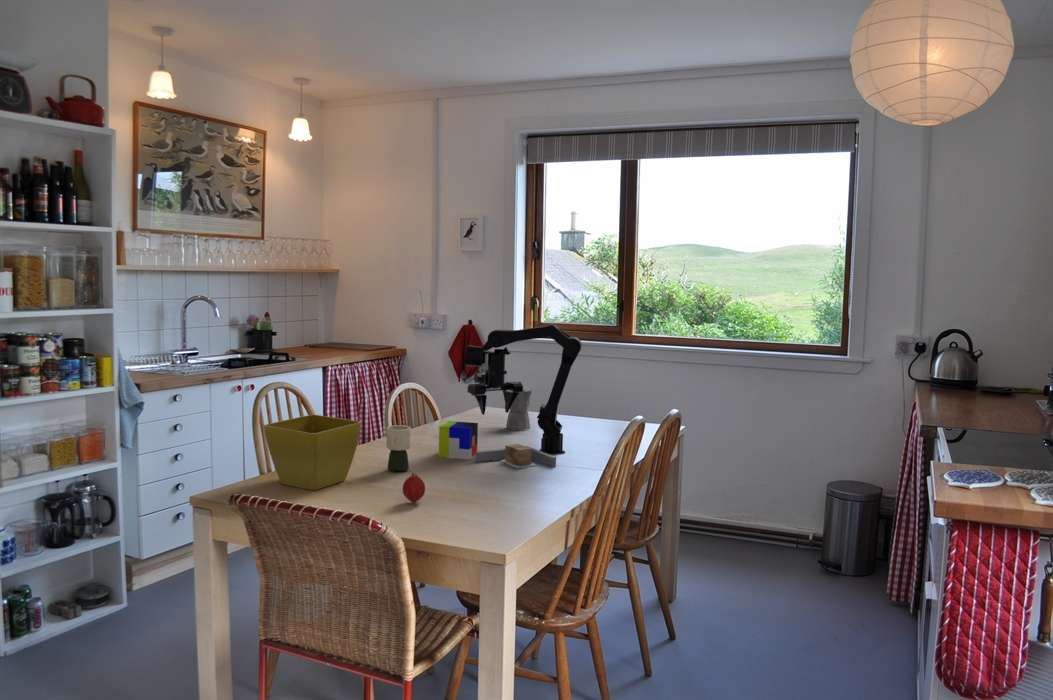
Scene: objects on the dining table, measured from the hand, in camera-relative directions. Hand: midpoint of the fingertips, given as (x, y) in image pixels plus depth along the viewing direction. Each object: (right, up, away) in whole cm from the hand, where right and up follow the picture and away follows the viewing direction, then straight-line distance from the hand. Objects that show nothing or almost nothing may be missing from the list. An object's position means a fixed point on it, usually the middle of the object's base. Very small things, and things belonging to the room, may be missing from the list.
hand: (494, 413), depth 262 cm
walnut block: (+8, -14, -18) cm, 24 cm away
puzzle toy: (-12, -13, -8) cm, 19 cm away
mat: (+8, -14, -18) cm, 24 cm away
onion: (-18, -18, -62) cm, 67 cm away
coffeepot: (+7, -9, +38) cm, 40 cm away
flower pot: (-49, -16, -45) cm, 68 cm away
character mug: (-28, -15, -30) cm, 43 cm away
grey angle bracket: (+7, -14, -19) cm, 24 cm away
